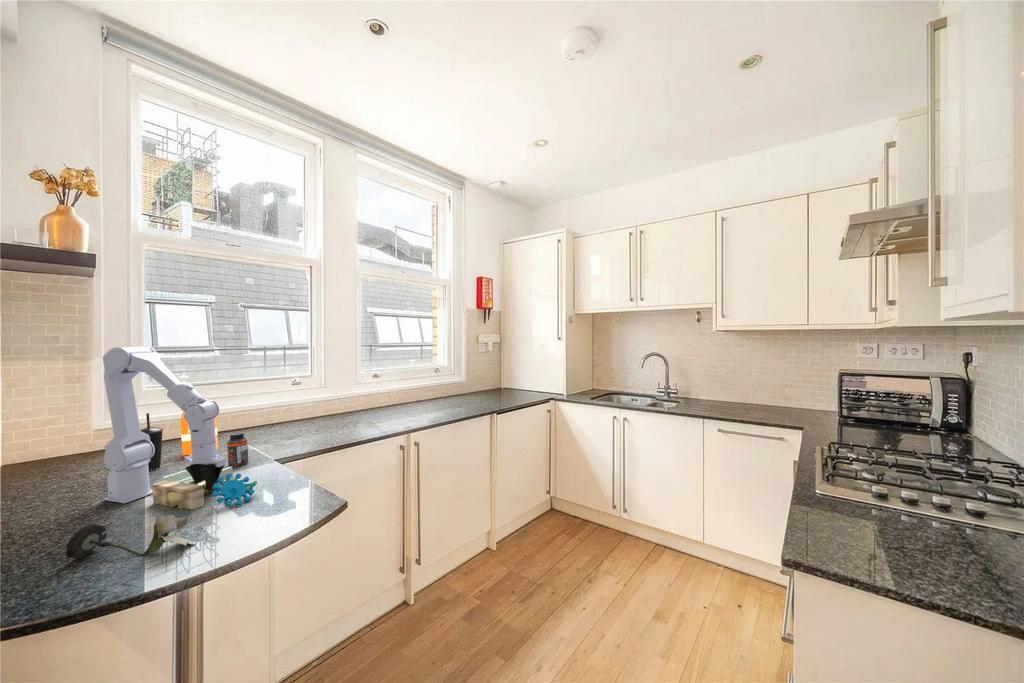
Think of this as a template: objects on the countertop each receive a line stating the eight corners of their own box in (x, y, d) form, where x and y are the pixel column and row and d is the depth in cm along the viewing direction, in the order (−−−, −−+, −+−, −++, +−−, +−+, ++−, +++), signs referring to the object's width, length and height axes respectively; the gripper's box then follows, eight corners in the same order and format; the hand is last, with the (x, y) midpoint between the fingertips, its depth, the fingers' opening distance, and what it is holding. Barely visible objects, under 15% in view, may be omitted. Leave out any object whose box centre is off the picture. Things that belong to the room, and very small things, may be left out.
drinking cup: (169, 467, 136) (165, 412, 135) (140, 474, 130) (136, 416, 129) (161, 463, 140) (158, 410, 139) (133, 470, 134) (129, 414, 133)
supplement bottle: (224, 466, 135) (222, 434, 134) (241, 460, 140) (239, 430, 140) (235, 468, 132) (233, 436, 132) (252, 462, 138) (250, 431, 138)
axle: (175, 508, 102) (173, 493, 102) (165, 506, 103) (164, 492, 103) (221, 489, 113) (220, 476, 113) (212, 488, 115) (211, 475, 115)
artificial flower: (105, 549, 86) (120, 502, 88) (199, 560, 85) (212, 512, 87) (58, 562, 77) (76, 509, 80) (162, 575, 76) (177, 521, 78)
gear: (219, 508, 98) (208, 476, 102) (209, 521, 99) (199, 489, 103) (264, 496, 107) (253, 467, 111) (255, 509, 109) (244, 480, 113)
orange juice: (193, 450, 156) (190, 402, 155) (218, 448, 158) (215, 400, 157) (182, 456, 148) (179, 405, 147) (208, 454, 150) (205, 404, 149)
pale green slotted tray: (163, 489, 116) (162, 477, 116) (205, 474, 127) (204, 463, 127) (191, 493, 112) (191, 481, 112) (233, 477, 123) (232, 466, 123)
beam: (153, 503, 106) (152, 484, 106) (166, 498, 109) (164, 480, 108) (192, 510, 101) (190, 490, 101) (204, 505, 104) (203, 485, 103)
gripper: (171, 445, 110) (174, 491, 110) (205, 448, 105) (209, 496, 105) (198, 438, 116) (201, 482, 117) (231, 441, 112) (234, 486, 112)
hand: (206, 488), depth 112 cm, fingers closed on axle, 4 cm apart
